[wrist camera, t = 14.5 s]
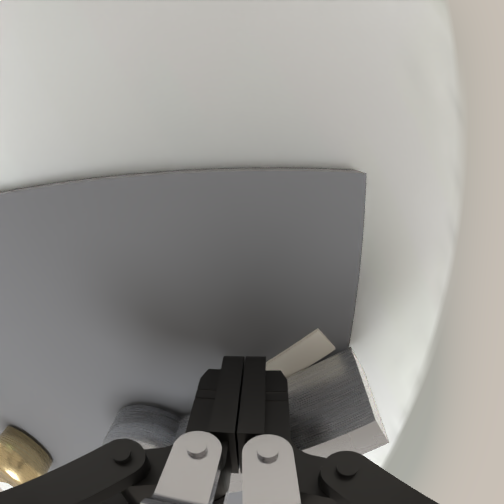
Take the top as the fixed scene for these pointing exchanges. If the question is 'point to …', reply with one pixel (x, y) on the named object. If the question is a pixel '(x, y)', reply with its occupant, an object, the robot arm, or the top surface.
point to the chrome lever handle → (300, 411)
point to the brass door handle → (21, 458)
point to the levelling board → (167, 290)
